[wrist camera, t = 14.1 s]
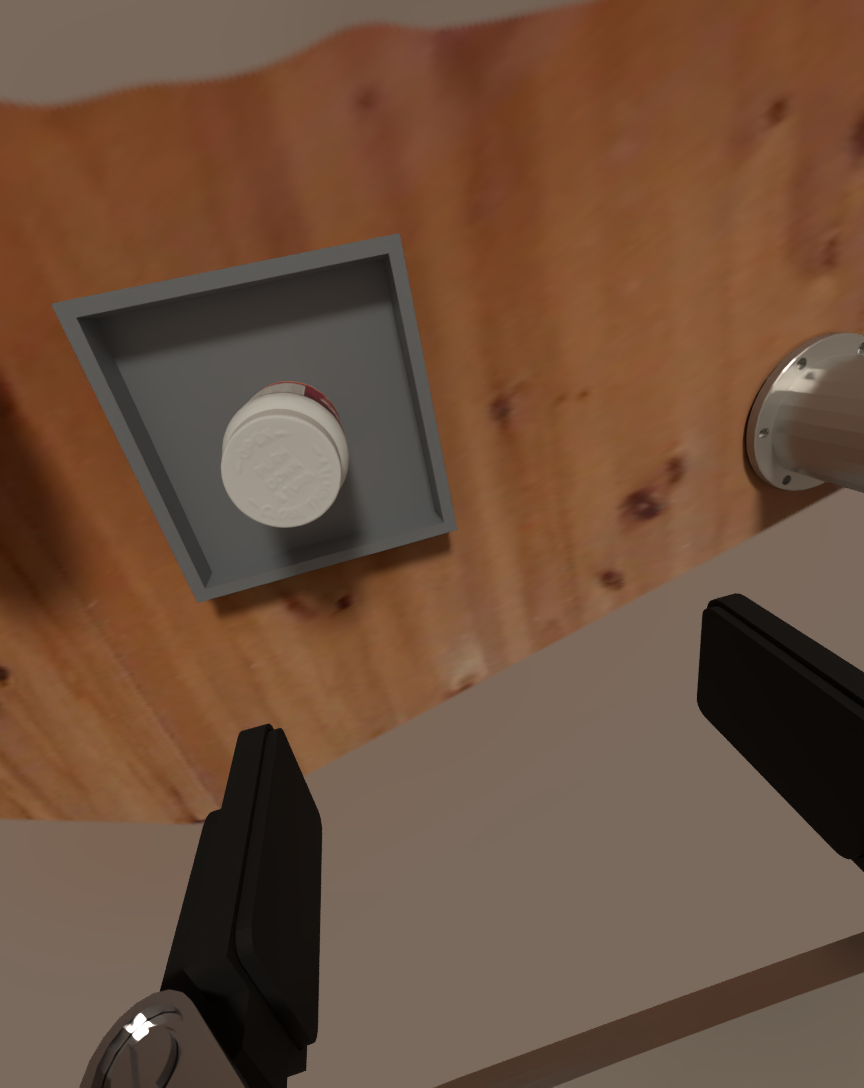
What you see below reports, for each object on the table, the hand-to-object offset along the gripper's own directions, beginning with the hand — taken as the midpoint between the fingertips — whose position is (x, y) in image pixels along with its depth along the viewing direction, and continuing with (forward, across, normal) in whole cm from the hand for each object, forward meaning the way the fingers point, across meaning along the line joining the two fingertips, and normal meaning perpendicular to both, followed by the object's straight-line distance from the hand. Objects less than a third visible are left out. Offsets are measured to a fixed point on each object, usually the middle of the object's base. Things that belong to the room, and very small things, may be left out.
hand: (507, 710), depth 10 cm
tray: (+26, +6, -3) cm, 27 cm away
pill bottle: (+25, +6, -3) cm, 26 cm away
